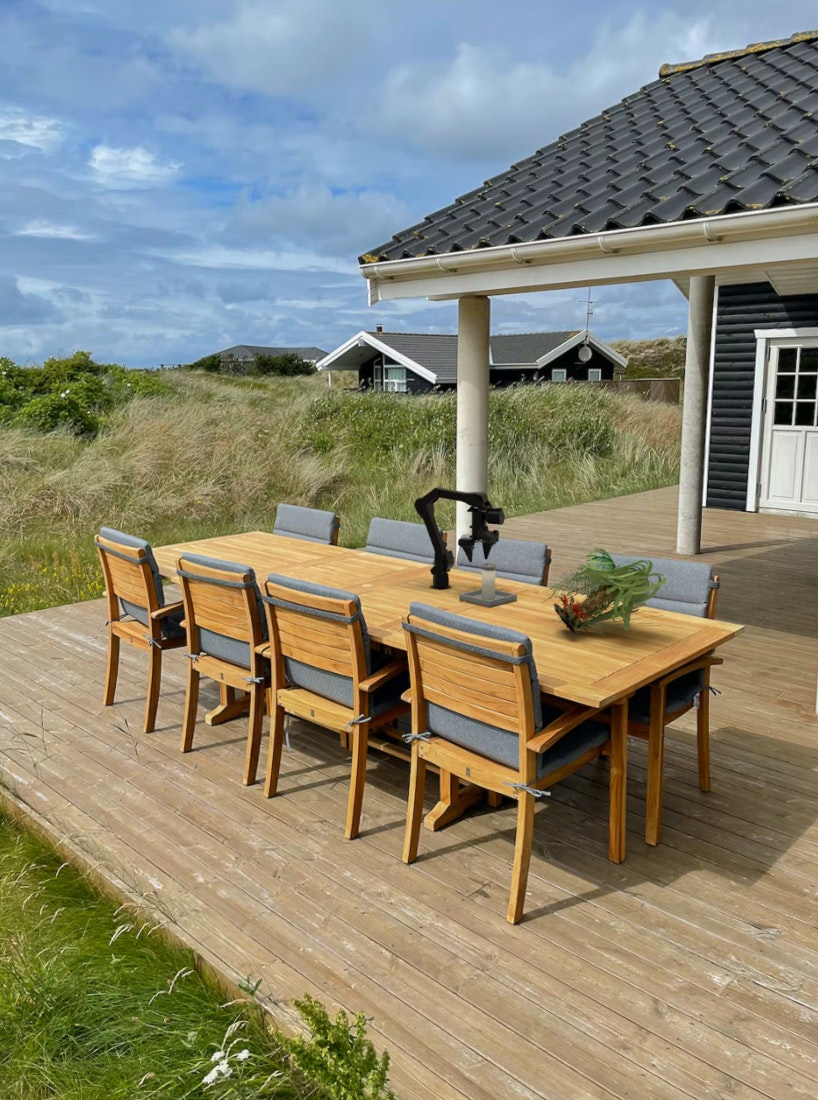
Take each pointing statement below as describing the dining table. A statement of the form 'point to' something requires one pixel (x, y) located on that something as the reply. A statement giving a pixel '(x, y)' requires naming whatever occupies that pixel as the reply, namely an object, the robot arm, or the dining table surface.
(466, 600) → the tray
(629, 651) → the dining table surface
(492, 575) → the shaker
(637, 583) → the plant
